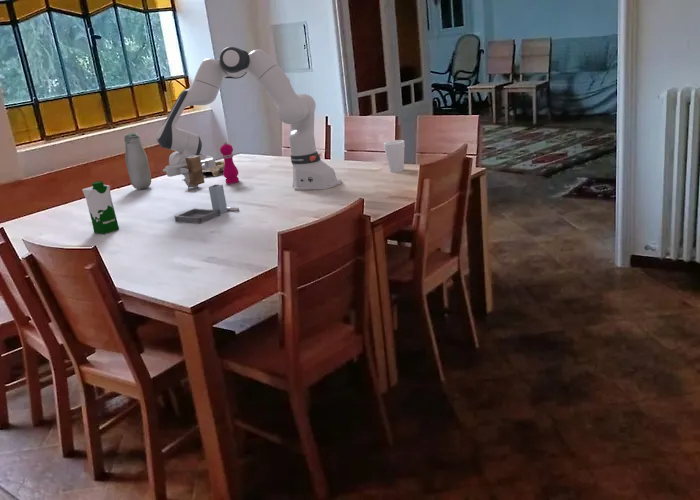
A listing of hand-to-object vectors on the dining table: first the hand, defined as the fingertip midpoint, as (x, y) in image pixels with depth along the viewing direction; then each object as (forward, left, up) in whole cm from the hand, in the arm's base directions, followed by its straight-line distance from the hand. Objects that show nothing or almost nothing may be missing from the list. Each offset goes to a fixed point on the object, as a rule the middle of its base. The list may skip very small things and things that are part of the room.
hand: (195, 169), depth 277 cm
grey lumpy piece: (+40, -34, -18) cm, 55 cm away
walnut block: (+1, 0, -6) cm, 6 cm away
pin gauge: (-10, -5, -17) cm, 21 cm away
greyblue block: (-8, -2, -18) cm, 20 cm away
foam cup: (-50, -73, -18) cm, 90 cm away
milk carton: (+25, +29, -18) cm, 43 cm away
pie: (+57, -63, -19) cm, 87 cm away
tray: (-4, +7, -18) cm, 20 cm away
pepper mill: (+26, -46, -18) cm, 55 cm away
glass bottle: (+71, -29, -18) cm, 79 cm away
